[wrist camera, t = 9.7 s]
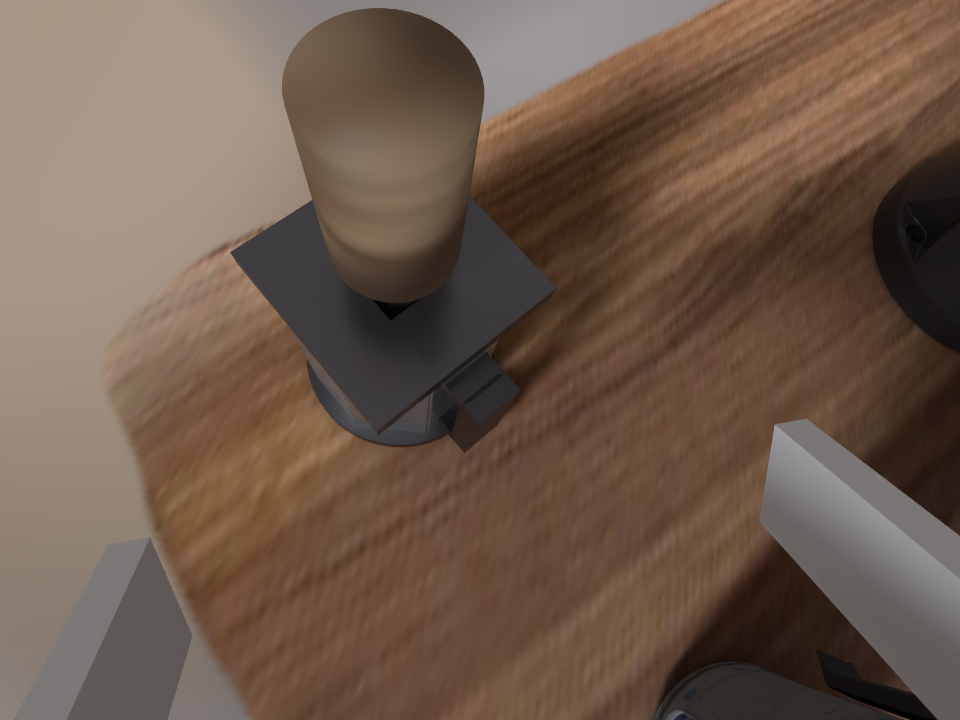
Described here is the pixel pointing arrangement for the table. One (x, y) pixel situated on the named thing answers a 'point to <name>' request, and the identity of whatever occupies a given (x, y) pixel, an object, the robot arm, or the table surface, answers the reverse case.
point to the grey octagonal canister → (401, 332)
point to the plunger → (386, 147)
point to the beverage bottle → (784, 696)
